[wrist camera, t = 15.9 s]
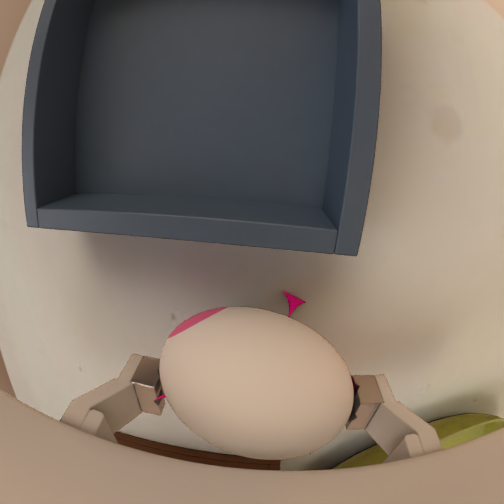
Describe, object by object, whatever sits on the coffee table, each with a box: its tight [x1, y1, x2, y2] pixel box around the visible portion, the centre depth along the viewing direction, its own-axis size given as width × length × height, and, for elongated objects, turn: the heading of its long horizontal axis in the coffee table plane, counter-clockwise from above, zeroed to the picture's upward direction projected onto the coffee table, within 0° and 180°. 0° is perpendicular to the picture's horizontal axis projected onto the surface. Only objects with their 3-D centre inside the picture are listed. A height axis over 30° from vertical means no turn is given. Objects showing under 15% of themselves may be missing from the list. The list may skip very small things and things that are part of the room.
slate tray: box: [22, 0, 382, 256], centre depth 7 cm, size 11×11×3 cm
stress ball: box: [155, 291, 354, 460], centre depth 11 cm, size 8×8×7 cm
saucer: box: [333, 414, 504, 469], centre depth 17 cm, size 21×21×3 cm
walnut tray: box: [114, 432, 280, 471], centre depth 18 cm, size 14×14×3 cm
